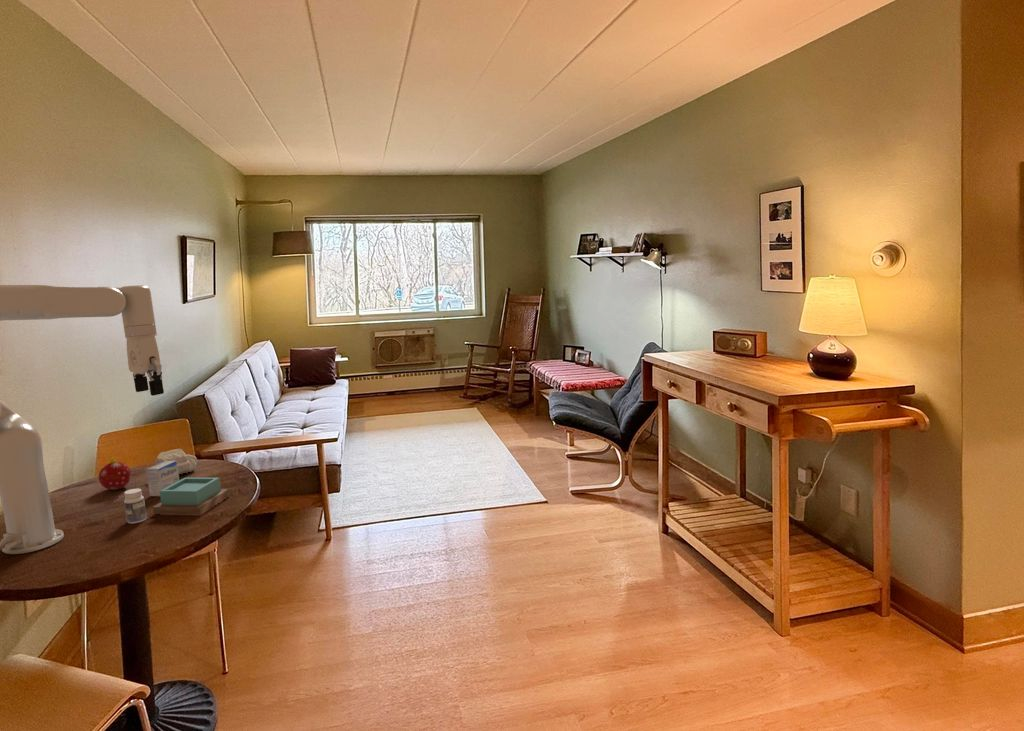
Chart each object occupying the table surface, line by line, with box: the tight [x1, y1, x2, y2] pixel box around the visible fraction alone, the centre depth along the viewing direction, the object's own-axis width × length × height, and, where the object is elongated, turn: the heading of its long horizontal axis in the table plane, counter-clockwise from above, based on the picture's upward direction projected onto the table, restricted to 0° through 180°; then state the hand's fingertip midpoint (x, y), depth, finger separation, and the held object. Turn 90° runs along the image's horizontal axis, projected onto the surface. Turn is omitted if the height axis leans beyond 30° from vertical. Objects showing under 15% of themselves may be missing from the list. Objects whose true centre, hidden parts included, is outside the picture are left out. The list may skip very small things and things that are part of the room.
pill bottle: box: [123, 488, 148, 525], centre depth 174 cm, size 5×5×8 cm
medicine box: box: [145, 461, 180, 497], centre depth 195 cm, size 8×4×9 cm, turn 168°
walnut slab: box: [152, 488, 231, 517], centre depth 183 cm, size 14×14×3 cm
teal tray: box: [159, 477, 222, 505], centre depth 183 cm, size 11×11×4 cm
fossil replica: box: [154, 448, 198, 476], centre depth 212 cm, size 12×8×10 cm
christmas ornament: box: [98, 457, 132, 491], centre depth 200 cm, size 9×9×10 cm
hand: (149, 392), depth 178 cm, fingers open, 9 cm apart
